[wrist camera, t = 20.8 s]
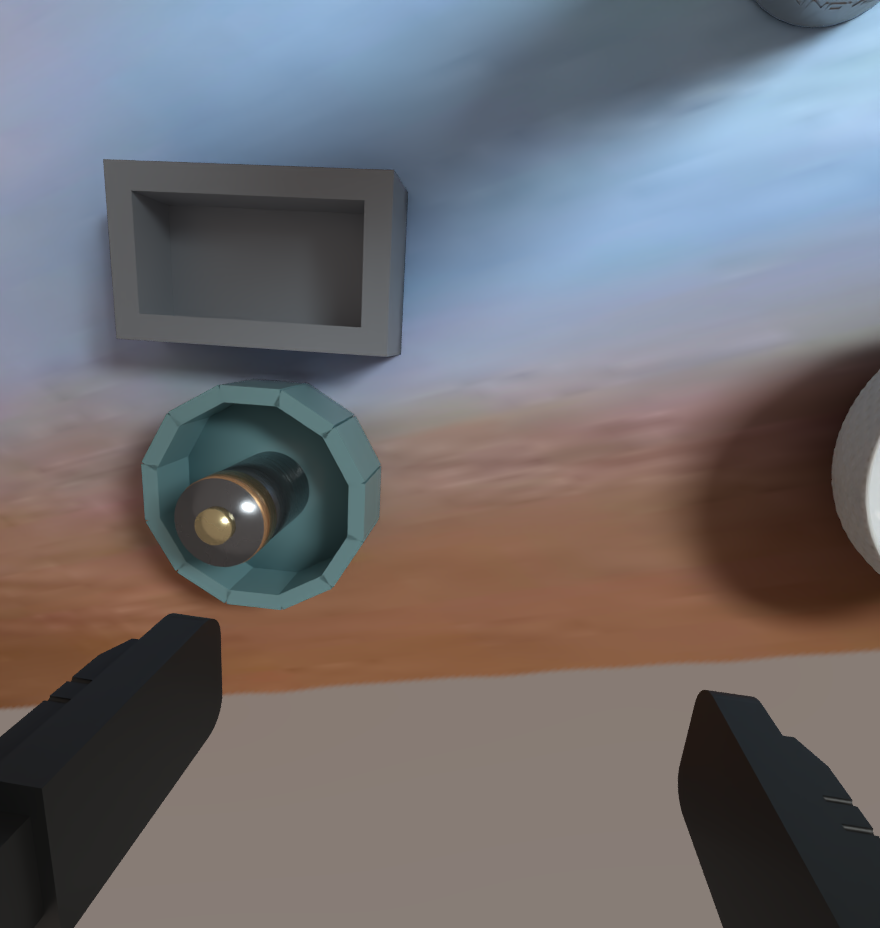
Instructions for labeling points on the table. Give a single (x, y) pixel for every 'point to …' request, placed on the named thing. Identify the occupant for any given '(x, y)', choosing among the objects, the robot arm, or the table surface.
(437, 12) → the table surface
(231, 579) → the cup
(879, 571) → the cereal bowl
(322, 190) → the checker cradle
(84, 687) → the robot arm
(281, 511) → the cell
